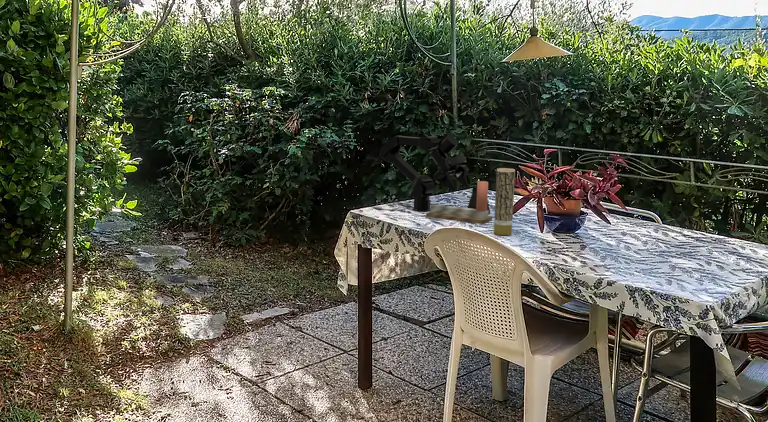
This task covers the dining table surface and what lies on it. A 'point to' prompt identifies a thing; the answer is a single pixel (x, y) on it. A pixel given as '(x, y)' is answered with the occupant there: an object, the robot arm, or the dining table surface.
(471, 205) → the door stopper
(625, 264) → the dining table surface
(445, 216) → the ridge board
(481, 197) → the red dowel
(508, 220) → the bark log
